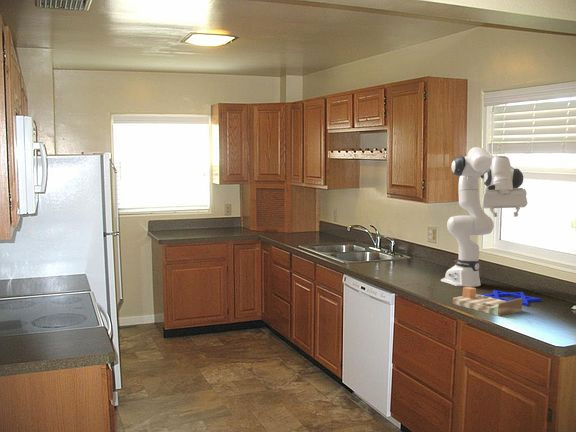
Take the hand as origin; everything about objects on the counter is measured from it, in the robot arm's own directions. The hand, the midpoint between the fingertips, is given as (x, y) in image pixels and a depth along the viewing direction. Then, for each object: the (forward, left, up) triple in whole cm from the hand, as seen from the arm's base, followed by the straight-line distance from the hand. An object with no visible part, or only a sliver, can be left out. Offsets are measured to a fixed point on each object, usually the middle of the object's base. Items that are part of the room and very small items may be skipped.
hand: (505, 216), depth 291 cm
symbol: (-11, +22, -45) cm, 52 cm away
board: (-7, -2, -45) cm, 45 cm away
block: (-17, -2, -42) cm, 45 cm away
